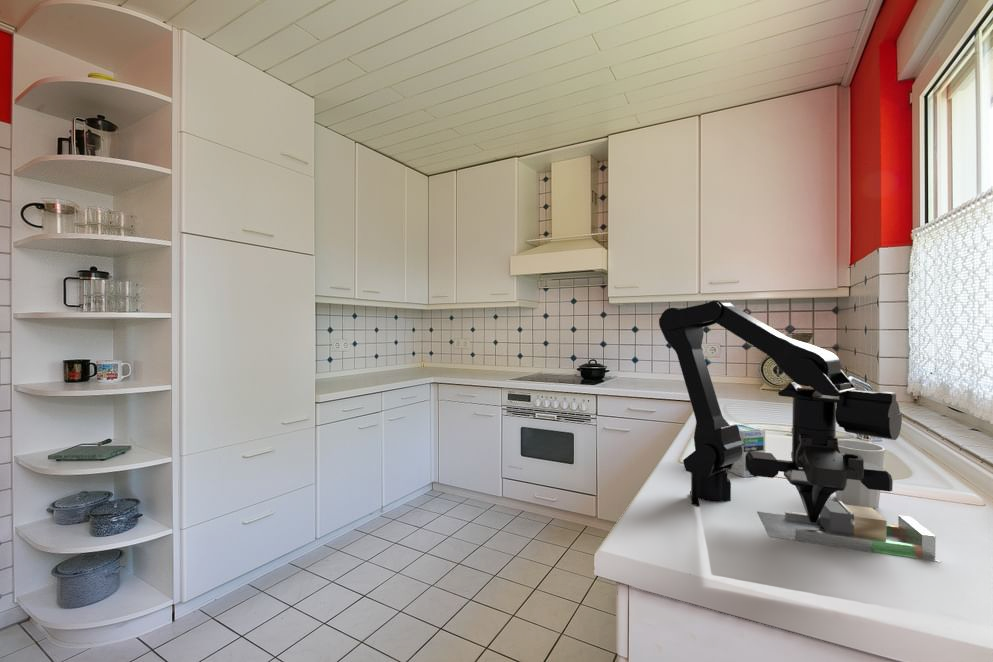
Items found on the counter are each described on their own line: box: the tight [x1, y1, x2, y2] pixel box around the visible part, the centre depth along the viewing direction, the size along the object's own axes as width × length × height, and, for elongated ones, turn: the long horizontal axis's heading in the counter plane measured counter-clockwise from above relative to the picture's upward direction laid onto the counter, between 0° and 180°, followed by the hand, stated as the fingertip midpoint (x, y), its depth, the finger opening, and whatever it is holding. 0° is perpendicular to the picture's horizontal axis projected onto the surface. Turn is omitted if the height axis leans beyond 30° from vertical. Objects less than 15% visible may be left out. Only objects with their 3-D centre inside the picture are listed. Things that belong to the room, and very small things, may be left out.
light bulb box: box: [726, 420, 766, 478], centre depth 105 cm, size 11×7×11 cm, turn 17°
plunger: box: [820, 500, 855, 536], centre depth 70 cm, size 3×6×4 cm, turn 158°
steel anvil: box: [897, 514, 937, 557], centre depth 67 cm, size 2×7×3 cm, turn 159°
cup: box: [835, 439, 886, 510], centre depth 83 cm, size 8×8×12 cm
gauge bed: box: [757, 510, 942, 563], centre depth 70 cm, size 21×10×2 cm, turn 69°
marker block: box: [843, 503, 888, 540], centre depth 69 cm, size 4×5×4 cm
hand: (812, 521), depth 71 cm, fingers closed
